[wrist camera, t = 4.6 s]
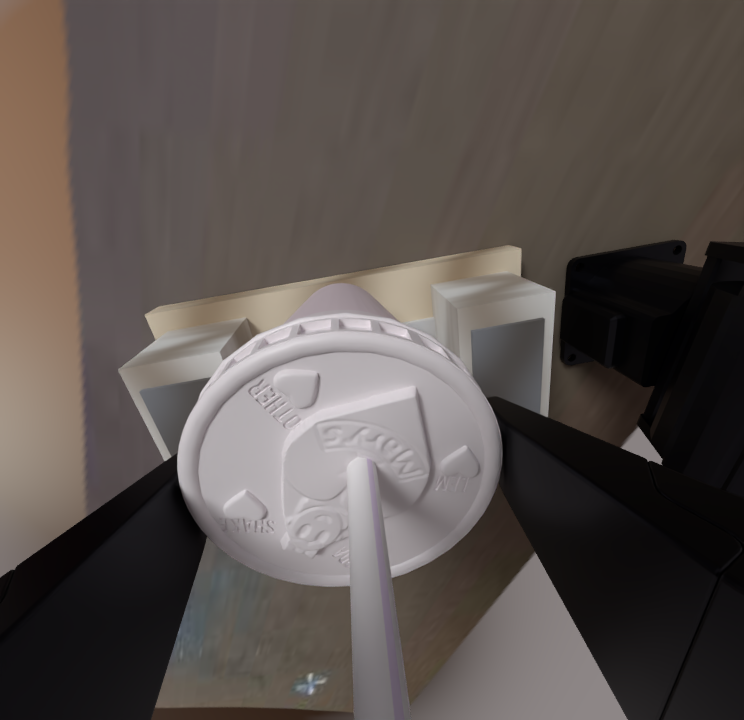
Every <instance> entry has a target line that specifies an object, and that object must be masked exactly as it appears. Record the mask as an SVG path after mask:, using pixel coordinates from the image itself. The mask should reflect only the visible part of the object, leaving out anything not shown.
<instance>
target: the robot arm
mask: <svg viewBox="0 0 744 720" xmlns="http://www.w3.org/2000/svg"><path fill="white" fill-rule="evenodd" d="M675 247H676V249H675V251H674V252H673V249H674V248H675ZM685 252H686V243H685V242H684V241H679V240H670V241H665V242H659V243H653V244H648V245H642V246H636V247H631V248H625V249H619V250H614V251H608V252H603V253H597V254H591V255H586V256H580V257H575V258H573V259H572V260H570V261H569V263H568V265H567V272H566V285H565V297H564V299H563V303H562V317H561V331H560V339H562V340H561V353H560V358H561V360H562V362H564V363H565V364H567V365H574V364H580V363H585V362H591V361H596V362H598V363H599V364H601V365H603V366H604V367H606V368H613V369H615V370H616V371H618V372H620V373H621V374H623V375H625V376H626V377H628V378H630V379H631V380H633V381H634V382H636V383H638V384H639V385H641V386H643V387H649V386H655V387H654V390H653V392H652V395H651V397H650V400H649V402H648V404H647V407H646V409H645V412H644V414H641V415H640V418H639V420H638V423H637V425H638V426H639V428H640V429H641V430H642V432H643V433H644V434H645V436H646V437H647V439H648V440H649V441H650V443H651V444H652V445H653V447H654V448H655V450H656V451H657V452H658V453H659V455H660V456H661V458H662V459H663V460H662V465H663V466H662V465H659V464H658V463H655V462H653V461H649V462H648V461H647V459H645V458H643V457H641V456H638V455H636V454H633V453H631V452H629V451H626V450H624V449H622V448H619V447H617V446H615V445H612V444H610V443H607V442H605V441H603V440H600V439H598V438H596V437H593V436H591V435H588V434H586V433H584V432H581V431H579V430H577V429H574V428H572V427H569V426H567V425H565V424H562V423H560V422H558V421H555V420H553V419H550V418H548V417H546V416H543V415H541V414H539V413H536V412H534V411H531V410H529V409H527V408H524V407H522V406H520V405H517V404H515V403H512V402H510V401H508V400H505V399H503V398H501V397H498V396H491V397H486V399H487V400H488V402H489V404H490V406H491V407H492V410H493V412H494V414H495V417H496V419H497V422H498V426H499V429H500V434H501V440H502V467H501V472H500V477H499V481H498V482H499V484H500V487H501V489H502V491H503V493H504V495H505V497H506V499H507V501H508V503H509V505H510V507H511V508H512V510H513V512H514V514H515V516H516V518H517V519H518V521H519V523H520V525H521V527H522V528H523V530H524V532H525V534H526V536H527V538H528V539H529V541H530V543H531V545H532V547H533V548H534V550H535V552H536V554H537V556H538V557H539V559H540V561H541V563H542V565H543V567H544V568H545V570H546V572H547V574H548V576H549V578H550V579H551V581H552V583H553V585H554V587H555V588H556V590H557V592H558V594H559V596H560V597H561V599H562V601H563V603H564V605H565V607H566V608H567V610H568V612H569V614H570V616H571V617H572V619H573V621H574V623H575V625H576V627H577V628H578V630H579V632H580V634H581V636H582V637H583V639H584V641H585V643H586V645H587V647H588V648H589V650H590V652H591V654H592V655H593V657H594V659H595V661H596V663H597V664H598V666H599V668H600V670H601V672H602V674H603V676H604V677H605V679H606V681H607V683H608V685H609V686H610V688H611V690H612V692H613V694H614V696H615V697H616V699H617V701H618V703H619V705H620V706H621V708H622V710H623V712H624V714H625V716H626V717H627V719H628V720H744V242H714V241H710V243H709V246H708V248H707V251H706V253H705V255H706V256H707V259H706V261H705V264H704V266H703V268H702V267H697V266H692V265H686V264H683V262H684V257H685ZM579 263H580V267H579V269H578V270H576V269H575V268H576V265H577V264H579ZM571 354H572V356H571V357H570V358H569V359H568V357H569V356H570V355H571ZM177 456H178V453H176V454H175V455H173V456H172V457H171V458H169V459H168V460H166V461H165V462H163V463H162V464H161V465H159V466H158V467H156V468H155V469H154V470H152V471H151V472H149V473H148V474H146V475H145V476H144V477H142V478H141V479H139V480H138V481H137V482H135V483H134V484H132V485H131V486H129V487H128V488H127V489H125V490H124V491H122V492H121V493H120V494H118V495H117V496H115V497H114V498H112V499H111V500H110V501H108V502H107V503H105V504H104V505H103V506H101V507H100V508H98V509H97V510H95V511H94V512H93V513H91V514H90V515H88V516H87V517H85V518H84V519H83V520H81V521H80V522H78V523H77V524H76V525H74V526H73V527H71V528H70V529H69V530H67V531H66V532H64V533H63V534H61V535H60V536H59V537H57V538H56V539H54V540H53V541H51V542H50V543H49V544H47V545H46V546H45V547H43V548H42V549H40V550H39V551H37V552H36V553H34V554H33V555H32V556H30V557H29V558H27V559H26V560H25V561H23V562H22V563H20V564H19V565H17V567H16V568H15V570H10V571H9V572H7V573H6V574H5V575H3V576H2V577H1V578H0V720H151V718H152V714H153V711H154V708H155V705H156V702H157V699H158V695H159V692H160V689H161V686H162V682H163V679H164V676H165V673H166V670H167V666H168V663H169V660H170V657H171V653H172V650H173V647H174V644H175V641H176V637H177V634H178V631H179V628H180V624H181V621H182V618H183V615H184V612H185V608H186V605H187V602H188V599H189V595H190V592H191V589H192V586H193V583H194V579H195V576H196V573H197V570H198V566H199V563H200V560H201V557H202V553H203V550H204V546H205V543H206V538H207V535H206V534H205V533H204V532H203V531H202V530H201V529H200V527H199V526H198V524H197V523H196V522H195V520H194V519H193V517H192V515H191V513H190V512H189V510H188V508H187V506H186V503H185V501H184V498H183V496H182V492H181V489H180V485H179V479H178V472H177Z"/></svg>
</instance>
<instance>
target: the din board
mask: <svg viewBox="0 0 744 720" xmlns="http://www.w3.org/2000/svg"><path fill="white" fill-rule="evenodd" d="M337 283H346V284H352V285H356V286H358V287H360V288H362V289H364V290H366V291H367V292H368V293H370V294H371V295H372V296H373V297H374V298H375V299H376V300H377V301H378V302H379V303H380V304H381V305H382V306H383V307H385V308H386V309H387V310H388V311H389V312H390V313H391V314H392V315H393V316H394V317H395V318H396V319H397V320H398V321H399V322H401V323H403V324H406V325H408V326H411V327H413V328H416V329H418V330H420V331H423V332H425V333H428V334H430V335H431V336H433V337H434V338H435V339H436V340H438V341H439V342H440V343H441V344H443V345H444V346H445V347H446V348H448V349H449V350H450V351H451V352H453V353H454V354H455V355H456V356H458V357H459V358H460V359H461V360H462V361H463V363H464V364H465V366H466V367H467V369H468V370H469V372H470V373H471V375H472V376H473V378H474V379H475V381H476V382H477V384H478V385H479V387H480V388H481V391H482V393H483V394H484V395H485V397H491V396H498V397H501V398H503V399H505V400H508V401H510V402H512V403H515V404H517V405H520V406H522V407H524V408H527V409H529V410H531V411H534V412H536V413H539V414H541V415H543V416H546V417H548V407H549V391H550V375H551V359H552V343H553V327H554V311H555V295H556V291H553V290H551V289H549V288H546V287H544V286H541V285H539V284H537V283H534V282H532V281H529V280H527V279H525V278H522V277H521V248H518V247H514V246H510V245H506V246H500V247H495V248H489V249H483V250H478V251H472V252H466V253H461V254H455V255H449V256H444V257H438V258H432V259H427V260H421V261H415V262H410V263H404V264H398V265H393V266H387V267H381V268H375V269H370V270H364V271H358V272H353V273H347V274H341V275H336V276H330V277H324V278H319V279H313V280H307V281H302V282H296V283H290V284H285V285H279V286H273V287H268V288H262V289H256V290H251V291H245V292H239V293H234V294H228V295H222V296H217V297H211V298H205V299H199V300H194V301H188V302H182V303H177V304H171V305H165V306H160V307H157V308H156V309H154V310H152V311H151V312H149V313H147V314H146V315H145V317H146V319H147V321H148V323H149V326H150V328H151V330H152V332H153V335H154V337H155V339H156V341H154V342H153V343H152V344H151V345H149V346H148V347H147V348H145V349H144V350H143V351H142V352H140V353H139V354H138V355H136V356H135V357H134V358H133V359H131V360H130V361H129V362H127V363H126V364H125V365H123V366H122V367H121V368H120V369H118V371H119V373H120V375H121V377H122V379H123V381H124V382H125V384H126V386H127V388H128V390H129V392H130V394H131V396H132V398H133V400H134V402H135V404H136V406H137V408H138V410H139V412H140V414H141V416H142V418H143V420H144V422H145V424H146V425H147V427H148V429H149V431H150V433H151V435H152V437H153V439H154V441H155V443H156V445H157V447H158V449H159V451H160V453H161V455H162V457H163V459H164V461H166V460H168V459H169V458H171V457H172V456H173V455H175V454H176V453H178V448H179V442H180V439H181V435H182V431H183V429H184V426H185V424H186V421H187V419H188V417H189V415H190V413H191V411H192V410H193V408H194V406H195V404H196V403H197V401H198V399H199V395H200V392H201V391H202V390H203V388H204V387H205V385H206V384H207V383H208V381H209V380H210V378H211V377H212V375H213V374H214V373H215V371H216V370H217V368H218V367H219V366H220V364H221V363H222V361H223V360H225V359H226V358H227V357H229V356H230V355H231V354H232V353H234V352H235V351H236V350H238V349H239V348H240V347H242V346H243V345H244V344H246V343H247V342H248V341H249V340H251V339H252V338H253V337H255V336H256V335H257V334H260V333H262V332H265V331H268V330H270V329H273V328H275V327H278V326H280V325H283V324H284V323H285V322H286V321H287V320H288V319H289V318H290V317H291V316H292V315H293V314H294V313H295V311H296V310H297V309H298V308H299V307H300V306H301V305H302V304H303V303H304V302H305V301H306V300H307V299H308V298H309V297H310V296H311V295H312V294H313V293H315V292H316V291H317V290H319V289H321V288H322V287H325V286H327V285H331V284H337Z"/></svg>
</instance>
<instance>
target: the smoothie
mask: <svg viewBox="0 0 744 720" xmlns="http://www.w3.org/2000/svg"><path fill="white" fill-rule="evenodd" d="M501 467H502V440H501V434H500V429H499V426H498V422H497V419H496V417H495V414H494V412H493V410H492V407H491V406H490V404H489V402H488V400H487V399H486V397H485V395H484V394H483V393H482V391H481V388H480V387H479V385H478V384H477V382H476V381H475V379H474V378H473V376H472V375H471V373H470V372H469V370H468V369H467V367H466V366H465V364H464V363H463V361H462V360H461V359H460V358H459V357H458V356H456V355H455V354H454V353H453V352H451V351H450V350H449V349H448V348H446V347H445V346H444V345H443V344H441V343H440V342H439V341H438V340H436V339H435V338H434V337H433V336H431V335H430V334H428V333H425V332H423V331H420V330H418V329H416V328H413V327H411V326H408V325H406V324H403V323H401V322H399V321H398V320H397V319H396V318H395V317H394V316H393V315H392V314H391V313H390V312H389V311H388V310H387V309H386V308H385V307H383V306H382V305H381V304H380V303H379V302H378V301H377V300H376V299H375V298H374V297H373V296H372V295H371V294H370V293H368V292H367V291H366V290H364V289H362V288H360V287H358V286H356V285H352V284H346V283H337V284H331V285H327V286H325V287H322V288H321V289H319V290H317V291H316V292H315V293H313V294H312V295H311V296H310V297H309V298H308V299H307V300H306V301H305V302H304V303H303V304H302V305H301V306H300V307H299V308H298V309H297V310H296V311H295V313H294V314H293V315H292V316H291V317H290V318H289V319H288V320H287V321H286V322H285V323H284V324H283V325H280V326H278V327H275V328H273V329H270V330H268V331H265V332H262V333H260V334H257V335H256V336H255V337H253V338H252V339H251V340H249V341H248V342H247V343H246V344H244V345H243V346H242V347H240V348H239V349H238V350H236V351H235V352H234V353H232V354H231V355H230V356H229V357H227V358H226V359H225V360H223V361H222V363H221V364H220V366H219V367H218V368H217V370H216V371H215V373H214V374H213V375H212V377H211V378H210V380H209V381H208V383H207V384H206V385H205V387H204V388H203V390H202V391H201V392H200V395H199V399H198V401H197V403H196V404H195V406H194V408H193V410H192V411H191V413H190V415H189V417H188V419H187V421H186V424H185V426H184V429H183V431H182V435H181V439H180V442H179V448H178V456H177V472H178V479H179V485H180V489H181V492H182V496H183V498H184V501H185V503H186V506H187V508H188V510H189V512H190V513H191V515H192V517H193V519H194V520H195V522H196V523H197V524H198V526H199V527H200V529H201V530H202V531H203V532H204V533H205V534H206V535H207V537H208V538H209V539H210V540H211V541H212V542H213V543H214V544H216V545H217V546H218V547H219V548H220V549H222V550H223V551H224V552H225V553H226V554H228V555H229V556H230V557H232V558H233V559H235V560H237V561H239V562H240V563H242V564H244V565H246V566H247V567H249V568H251V569H253V570H255V571H258V572H260V573H263V574H266V575H268V576H271V577H274V578H276V579H280V580H285V581H289V582H293V583H298V584H302V585H313V586H325V587H337V586H350V596H351V630H352V664H353V698H354V720H412V719H411V712H410V705H409V698H408V691H407V684H406V677H405V669H404V662H403V655H402V648H401V641H400V634H399V626H398V619H397V612H396V605H395V598H394V591H393V584H392V578H393V577H396V576H400V575H403V574H406V573H408V572H410V571H412V570H415V569H417V568H419V567H421V566H423V565H425V564H428V563H429V562H431V561H433V560H434V559H436V558H437V557H439V556H440V555H442V554H443V553H445V552H446V551H448V550H450V549H451V548H452V547H453V546H454V545H455V544H456V543H458V542H459V541H460V540H461V539H462V538H463V537H464V536H465V535H466V534H468V533H469V531H470V530H471V529H472V528H473V526H474V525H475V524H476V523H477V522H478V520H479V519H480V518H481V516H482V515H483V514H484V512H485V510H486V508H487V507H488V505H489V503H490V501H491V499H492V497H493V495H494V493H495V490H496V487H497V484H498V481H499V477H500V472H501Z"/></svg>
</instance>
